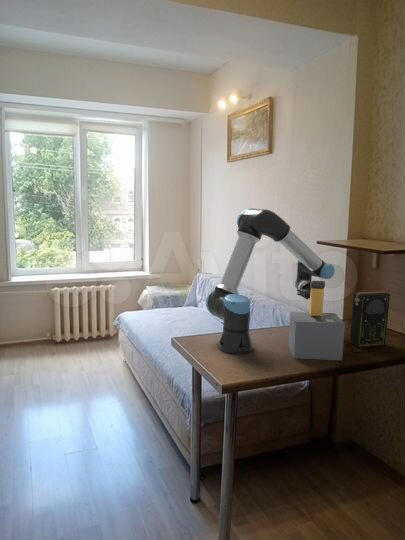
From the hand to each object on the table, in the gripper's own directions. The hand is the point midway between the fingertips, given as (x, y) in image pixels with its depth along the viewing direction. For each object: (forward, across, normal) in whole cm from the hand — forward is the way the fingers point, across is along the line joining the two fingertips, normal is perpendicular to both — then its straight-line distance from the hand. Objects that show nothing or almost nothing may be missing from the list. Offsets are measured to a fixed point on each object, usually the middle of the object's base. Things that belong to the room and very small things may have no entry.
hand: (317, 300), depth 186 cm
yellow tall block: (+2, +1, -6) cm, 6 cm away
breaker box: (+4, +1, -23) cm, 23 cm away
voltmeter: (-10, -26, -23) cm, 36 cm away
